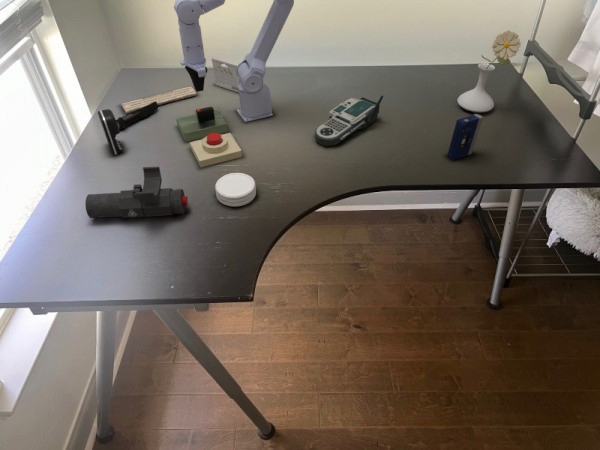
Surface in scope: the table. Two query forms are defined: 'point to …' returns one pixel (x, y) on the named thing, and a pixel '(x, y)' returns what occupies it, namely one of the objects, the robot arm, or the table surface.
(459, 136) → the cassette player
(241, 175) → the coaster
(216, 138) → the power button
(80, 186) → the table surface
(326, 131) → the communication device
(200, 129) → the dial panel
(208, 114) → the black rectangular block
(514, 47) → the flower in vase
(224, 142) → the box
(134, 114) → the electric trimmer
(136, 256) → the table surface
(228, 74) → the ink cartridge box
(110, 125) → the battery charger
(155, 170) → the laser sight
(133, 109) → the newspaper
